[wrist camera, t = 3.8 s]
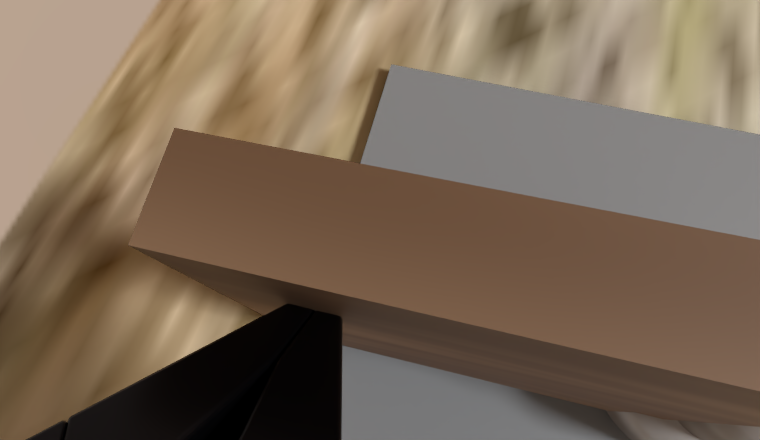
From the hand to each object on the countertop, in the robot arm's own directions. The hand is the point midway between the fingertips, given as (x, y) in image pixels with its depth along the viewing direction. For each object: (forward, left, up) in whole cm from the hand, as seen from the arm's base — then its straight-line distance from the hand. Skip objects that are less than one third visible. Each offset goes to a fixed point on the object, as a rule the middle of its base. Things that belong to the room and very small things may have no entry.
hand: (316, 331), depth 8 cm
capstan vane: (+2, -4, -6) cm, 8 cm away
